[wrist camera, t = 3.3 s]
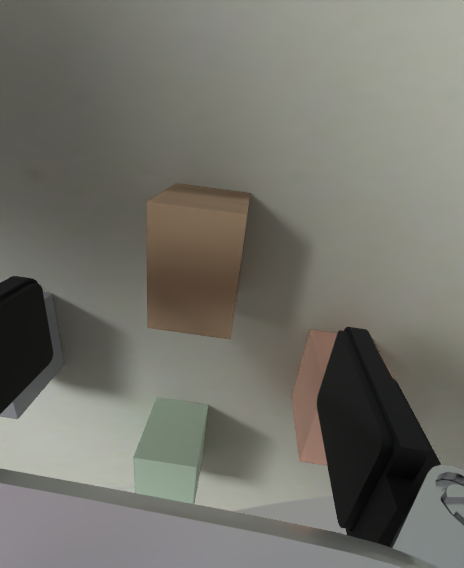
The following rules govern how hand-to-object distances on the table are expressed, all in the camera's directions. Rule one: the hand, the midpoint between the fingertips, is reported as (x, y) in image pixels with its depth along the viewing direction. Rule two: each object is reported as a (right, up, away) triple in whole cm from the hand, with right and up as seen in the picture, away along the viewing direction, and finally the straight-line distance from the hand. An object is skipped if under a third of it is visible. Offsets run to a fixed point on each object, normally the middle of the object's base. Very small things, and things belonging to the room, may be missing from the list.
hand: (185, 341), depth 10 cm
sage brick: (-3, -10, +15) cm, 18 cm away
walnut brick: (0, +4, +8) cm, 9 cm away
